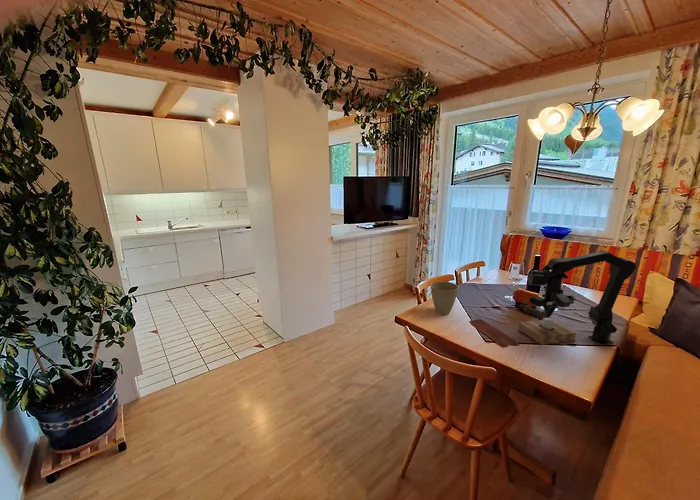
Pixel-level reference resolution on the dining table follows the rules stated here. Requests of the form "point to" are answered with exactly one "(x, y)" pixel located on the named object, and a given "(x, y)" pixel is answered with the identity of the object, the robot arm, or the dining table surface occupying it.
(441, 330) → the dining table surface
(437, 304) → the plant pot
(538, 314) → the bolt
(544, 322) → the peg
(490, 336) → the wooden tablet
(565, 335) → the board
